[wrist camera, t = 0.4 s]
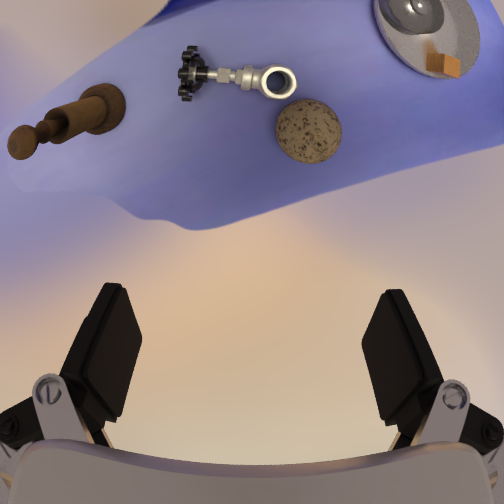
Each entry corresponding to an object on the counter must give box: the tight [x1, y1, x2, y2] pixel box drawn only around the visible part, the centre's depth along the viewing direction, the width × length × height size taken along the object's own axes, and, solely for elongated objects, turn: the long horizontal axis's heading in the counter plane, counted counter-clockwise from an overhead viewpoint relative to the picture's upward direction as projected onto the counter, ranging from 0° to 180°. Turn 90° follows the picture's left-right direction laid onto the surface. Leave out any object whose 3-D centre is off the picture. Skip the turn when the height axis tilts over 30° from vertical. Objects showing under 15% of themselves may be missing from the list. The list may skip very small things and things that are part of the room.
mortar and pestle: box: [7, 84, 125, 160], centre depth 24 cm, size 7×6×18 cm
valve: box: [178, 46, 298, 102], centre depth 27 cm, size 7×7×12 cm
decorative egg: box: [276, 99, 342, 164], centre depth 29 cm, size 7×7×10 cm
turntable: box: [374, 0, 480, 79], centre depth 20 cm, size 16×16×6 cm
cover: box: [378, 0, 444, 35], centre depth 19 cm, size 7×7×4 cm
